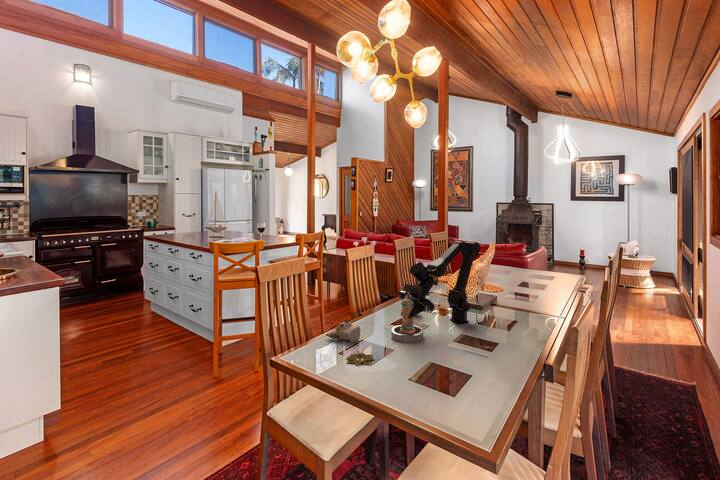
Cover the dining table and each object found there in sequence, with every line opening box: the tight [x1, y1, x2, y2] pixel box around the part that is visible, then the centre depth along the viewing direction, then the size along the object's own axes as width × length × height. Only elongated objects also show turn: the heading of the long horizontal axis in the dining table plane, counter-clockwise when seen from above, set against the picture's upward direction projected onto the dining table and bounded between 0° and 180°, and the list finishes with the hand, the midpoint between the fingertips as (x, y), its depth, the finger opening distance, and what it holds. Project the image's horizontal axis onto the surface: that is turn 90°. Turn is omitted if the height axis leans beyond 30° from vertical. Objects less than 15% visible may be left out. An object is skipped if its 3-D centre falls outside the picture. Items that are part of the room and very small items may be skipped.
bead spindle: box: [400, 299, 415, 334], centre depth 165 cm, size 6×6×14 cm
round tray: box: [390, 324, 424, 344], centre depth 166 cm, size 14×14×3 cm
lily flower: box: [344, 347, 375, 367], centre depth 144 cm, size 12×12×5 cm
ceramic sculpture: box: [325, 320, 361, 343], centre depth 164 cm, size 11×9×15 cm
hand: (405, 316), depth 164 cm, fingers closed on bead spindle, 4 cm apart
